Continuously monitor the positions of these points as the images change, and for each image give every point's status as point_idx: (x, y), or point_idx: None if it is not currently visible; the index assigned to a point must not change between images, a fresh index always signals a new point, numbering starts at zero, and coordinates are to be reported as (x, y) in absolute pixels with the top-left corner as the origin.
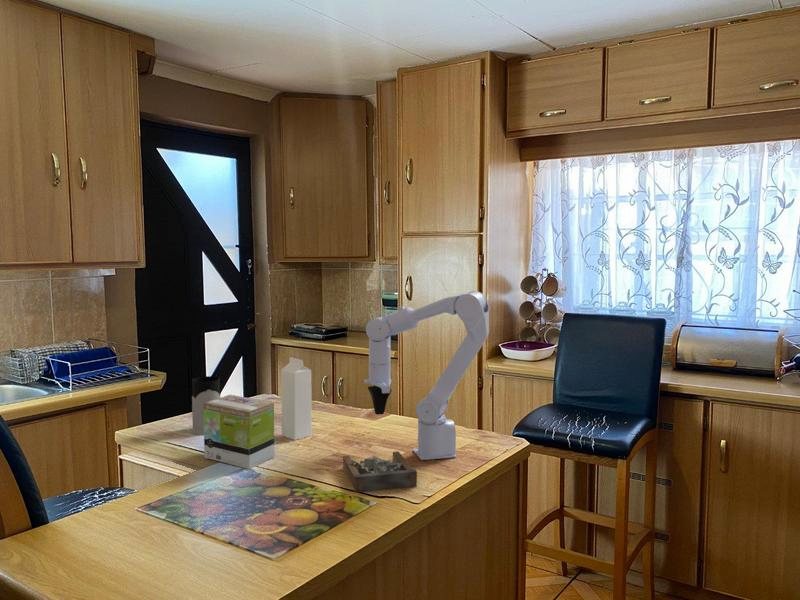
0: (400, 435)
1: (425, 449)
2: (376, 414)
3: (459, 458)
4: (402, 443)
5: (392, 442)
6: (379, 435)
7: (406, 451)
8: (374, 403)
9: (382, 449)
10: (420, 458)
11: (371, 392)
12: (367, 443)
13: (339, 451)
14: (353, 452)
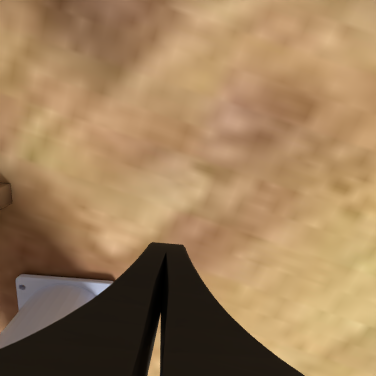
0: (273, 295)
1: (21, 309)
2: (150, 243)
3: None
4: None
5: (217, 251)
6: (305, 236)
7: (117, 261)
8: (124, 279)
9: (159, 199)
10: (27, 275)
11: (19, 368)
12: (240, 170)
13: (191, 31)
14: (161, 86)
